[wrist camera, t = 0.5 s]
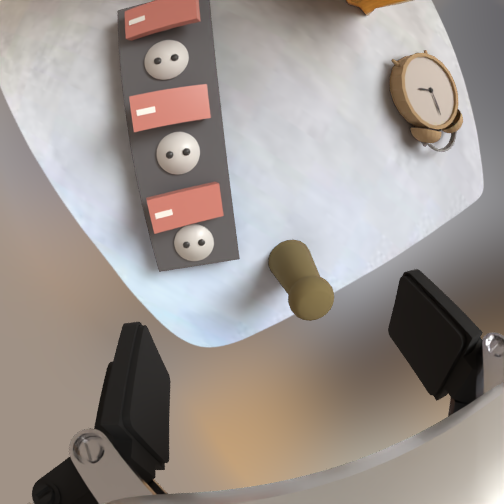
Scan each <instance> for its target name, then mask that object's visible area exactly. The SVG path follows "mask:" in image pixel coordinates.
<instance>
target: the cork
mask: <svg viewBox="0 0 504 504" xmlns="http://www.w3.org/2000/svg"><path fill="white" fill-rule="evenodd" d="M269 268H270V270H271V272H272V273H273V274H274V276H275V277H276V278H277V280H278V281H279V282H280V284H281V285H282V287H283V288H284V289H285V291H286V292H287V293H288V295H289V296H288V303H289V306H290V308H291V311H292V312H293V313H294V314H295V315H296V316H297V317H299V318H301V319H303V320H310V321H311V320H316V319H319V318H321V317H323V316H324V315H325V314H327V313H328V311H329V310H330V309H331V307H332V305H333V301H334V293H333V289H332V287H331V286H330V284H329V283H328V282H327V281H326V280H325V279H323V278H321V277H320V275H319V273H318V270H317V268H316V266H315V263H314V261H313V258H312V256H311V253H310V251H309V249H308V248H307V246H306V245H305V244H304V243H302V242H301V241H297V240H287V241H284V242H281V243H280V244H278V245H277V246H276V247H275V248H274V249H273V250H272V252H271V253H270V256H269Z"/></svg>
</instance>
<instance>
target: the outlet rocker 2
mask: <svg viewBox="0 0 504 504" xmlns="http://www.w3.org/2000/svg"><path fill="white" fill-rule="evenodd" d="M129 101H130V108H131V116H132V123H133V130H134V132H138V131H142V130H147V129H151V128H156V127H161V126H166V125H171V124H176V123H182V122H188V121H194V120H200V119H207V118H211V115H210V107H209V98H208V90H207V84H202V85H193V86H186V87H179V88H172V89H166V90H160V91H154V92H149V93H144V94H139V95H134V96H130V97H129Z"/></svg>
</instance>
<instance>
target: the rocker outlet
mask: <svg viewBox="0 0 504 504" xmlns="http://www.w3.org/2000/svg"><path fill="white" fill-rule="evenodd" d="M146 200H147V205H148V209H149V214H150V218H151V222H152V227H153V231H154V234H156V233H159V232H163V231H167V230H171V229H174V228H178V227H182V226H186V225H189V224H193V223H197V222H201V221H205V220H209V219H213V218H217V217H221V216H224V215H223V208H222V201H221V193H220V186H219V183H217V182H211V183H207V184H202V185H198V186H193V187H189V188H184V189H180V190H176V191H172V192H168V193H164V194H160V195H156V196H152V197H148V198H146Z"/></svg>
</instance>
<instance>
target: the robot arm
mask: <svg viewBox="0 0 504 504" xmlns="http://www.w3.org/2000/svg"><path fill="white" fill-rule="evenodd" d="M388 331H389V335H390V337H391V338H392V340H393V341H394V343H395V344H396V345H397V347H398V348H399V350H400V351H401V353H402V354H403V356H404V357H405V358H406V360H407V361H408V363H409V364H410V366H411V367H412V369H413V370H414V372H415V373H416V375H417V376H418V378H419V379H420V381H421V382H422V384H423V385H424V387H425V388H426V390H427V391H428V393H429V394H430V395H433V396H434V397H435V399H436V400H439V399H441V398H442V397H444V396H446V395H447V394H448V393H449V395H450V396H451V399H450V406H449V413H448V417H447V418H445V419H444V420H442V421H440V422H438V423H436V424H435V425H433V426H431V427H429V428H427V429H426V430H423V431H422V432H420V433H418V434H416V435H414V436H412V437H410V438H407V439H405V440H403V441H401V442H399V443H397V444H395V445H392V446H390V447H388V448H385V449H383V450H381V451H379V452H376V453H373V454H371V455H368V456H366V457H363V458H360V459H358V460H355V461H352V462H349V463H346V464H343V465H340V466H337V467H334V468H331V469H328V470H325V471H321V472H317V473H314V474H310V475H306V476H302V477H298V478H294V479H290V480H285V481H281V482H276V483H270V484H265V485H259V486H253V487H247V488H239V489H231V490H222V491H212V492H199V493H181V494H180V493H179V494H168V493H167V492H166V491H165V490H164V489H163V488H162V487H161V486H160V485H159V484H158V483H157V482H156V481H155V480H154V478H155V470H165V465H164V464H165V463H167V462H168V461H169V406H170V377H169V374H168V372H167V370H166V367H165V365H164V363H163V361H162V359H161V357H160V355H159V353H158V350H157V348H156V346H155V344H154V342H153V339H152V337H151V335H150V332H149V330H148V328H147V326H146V325H144V326H142V324H141V323H140V322H133V323H125V324H124V325H123V327H122V331H121V334H120V338H119V341H118V345H117V349H116V353H115V357H114V361H113V362H110V363H109V365H108V368H107V371H106V376H105V379H104V384H103V388H102V392H101V397H100V402H99V407H98V412H97V417H96V422H95V428H94V429H91V428H90V429H84V430H82V431H79V432H78V433H77V434H76V435H74V437H73V438H72V440H71V442H70V445H69V454H70V457H69V458H67V459H66V460H65V461H63V462H62V463H61V464H60V465H58V466H57V467H55V468H54V469H53V470H52V471H50V472H49V473H47V474H46V475H45V476H43V477H42V478H41V479H39V480H38V481H37V482H36V483H35V485H34V487H33V490H32V497H33V501H34V502H33V503H32V504H504V336H503V335H501V334H498V333H488V334H487V335H485V336H484V338H483V340H482V339H481V338H480V336H481V334H482V331H481V330H480V329H479V328H478V327H477V326H476V325H475V324H474V323H473V322H472V321H471V320H470V319H469V318H468V317H467V315H466V314H465V313H464V312H462V310H461V309H460V308H459V307H458V306H457V305H456V304H455V303H454V302H453V301H452V300H450V298H449V297H447V296H446V295H445V294H444V293H443V292H442V291H441V290H440V289H439V288H438V287H437V286H436V285H435V284H434V283H433V282H432V281H431V280H430V279H428V278H427V277H426V276H425V275H424V274H423V273H422V272H421V271H420V270H418V269H416V270H411V271H407V272H404V274H403V276H402V277H401V278H400V281H399V286H398V290H397V295H396V300H395V304H394V308H393V312H392V316H391V320H390V324H389V328H388ZM28 504H31V503H28Z"/></svg>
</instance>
